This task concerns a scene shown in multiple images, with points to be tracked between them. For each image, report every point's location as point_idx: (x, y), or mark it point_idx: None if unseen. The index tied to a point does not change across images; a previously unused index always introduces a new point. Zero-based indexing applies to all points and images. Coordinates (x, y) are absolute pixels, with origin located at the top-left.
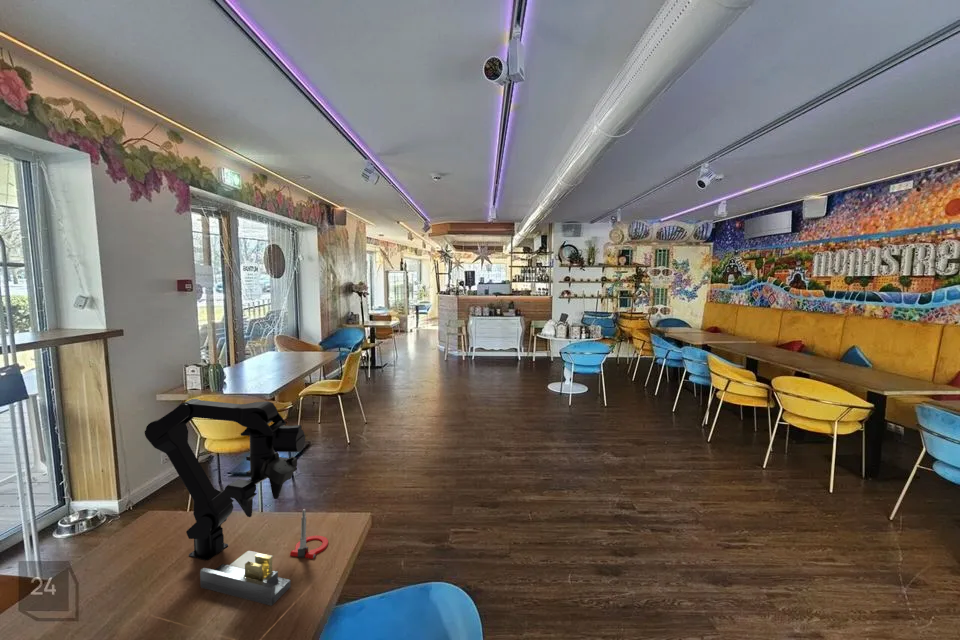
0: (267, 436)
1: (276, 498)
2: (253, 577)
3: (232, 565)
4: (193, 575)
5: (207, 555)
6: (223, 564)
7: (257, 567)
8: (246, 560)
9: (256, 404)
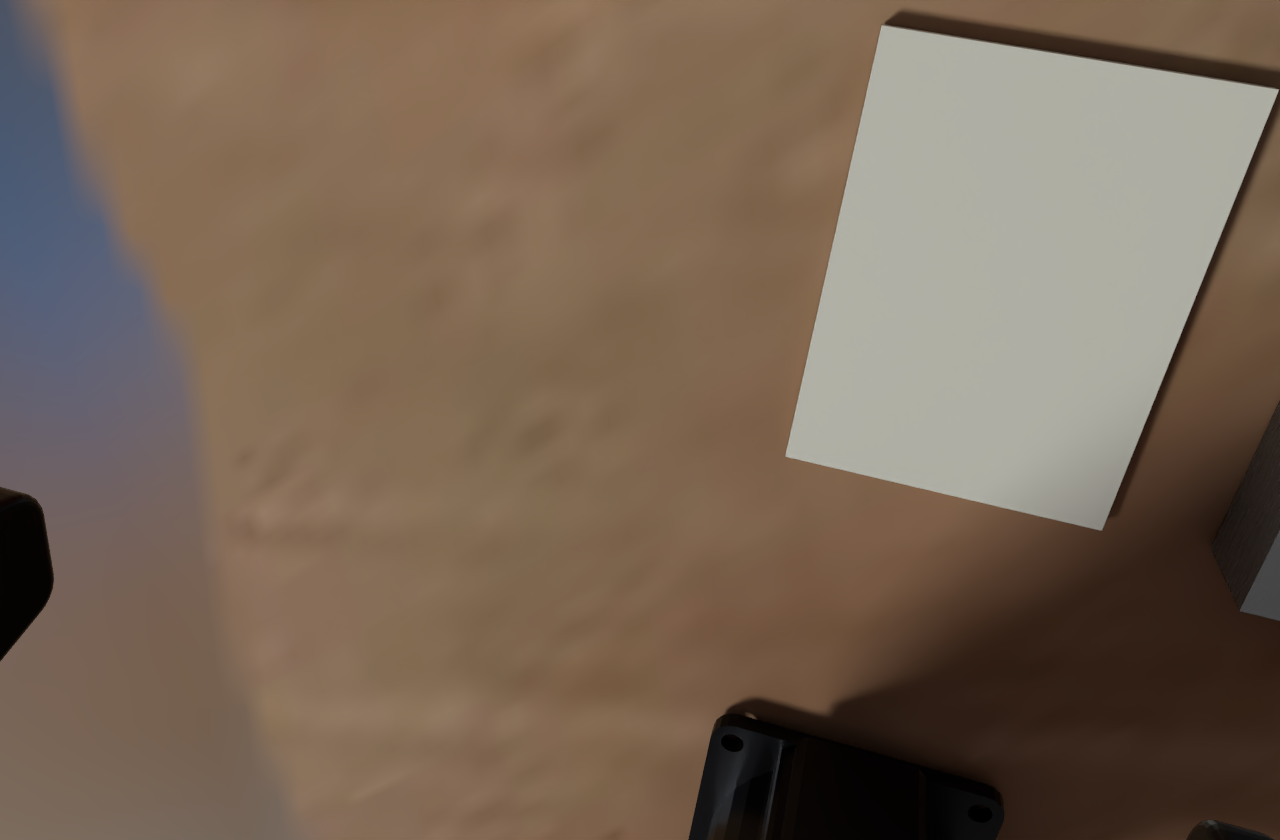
0: None
1: (21, 519)
2: None
3: (1115, 490)
4: (1263, 808)
5: (939, 833)
6: (1256, 592)
7: None
8: (1003, 368)
9: None
